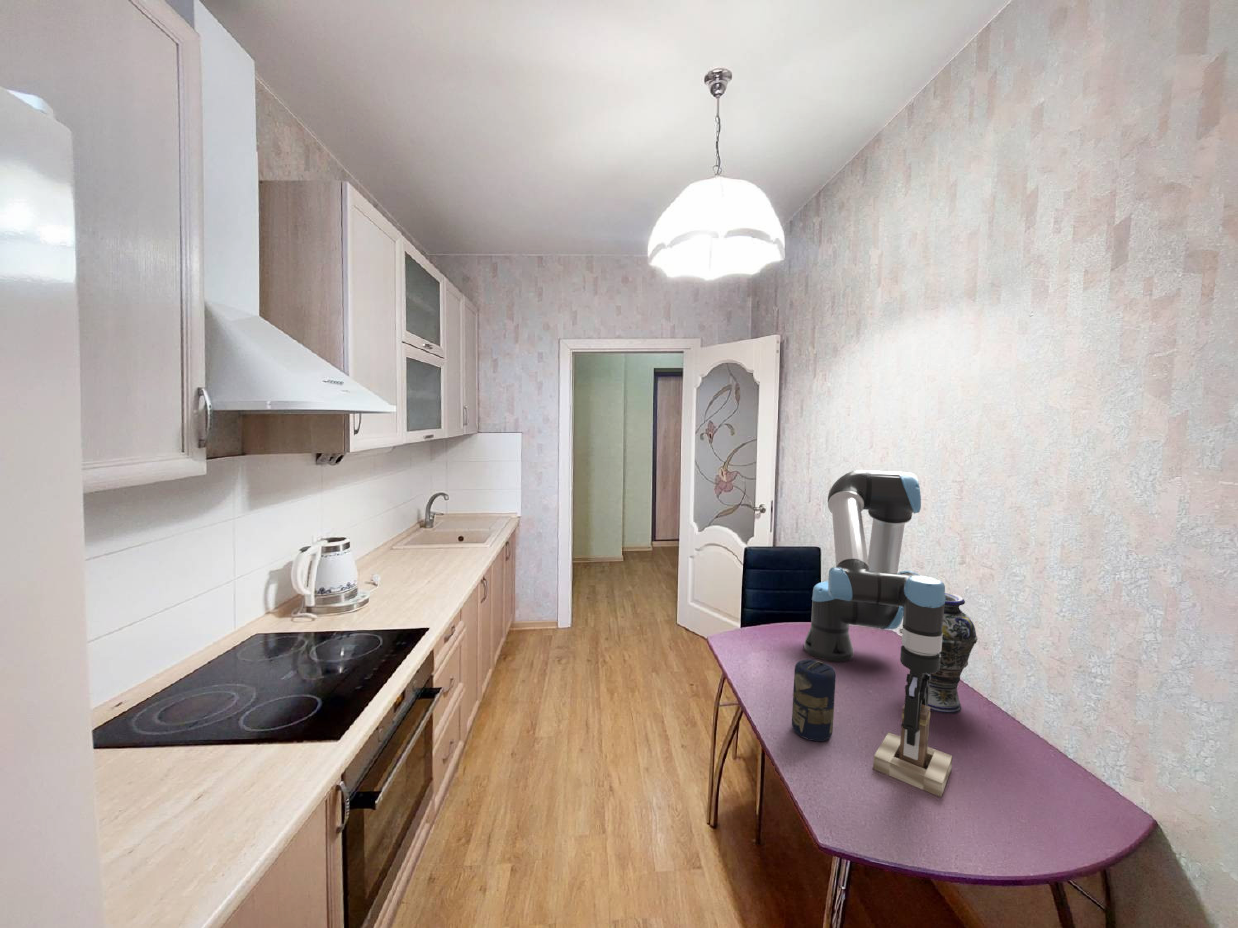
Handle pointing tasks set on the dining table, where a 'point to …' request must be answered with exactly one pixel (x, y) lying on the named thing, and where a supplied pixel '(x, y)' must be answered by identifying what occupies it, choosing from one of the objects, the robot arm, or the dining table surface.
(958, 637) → the vase
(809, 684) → the blue patterned canister
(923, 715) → the block
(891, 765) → the socket block
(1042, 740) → the dining table surface
